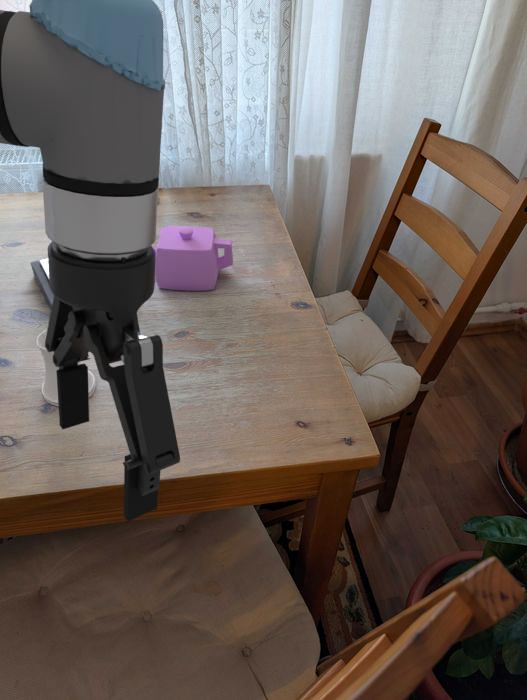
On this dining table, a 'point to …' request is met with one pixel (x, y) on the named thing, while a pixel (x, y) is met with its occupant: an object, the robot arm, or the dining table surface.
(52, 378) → the vase
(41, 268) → the scale
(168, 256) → the teapot
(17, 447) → the dining table surface
